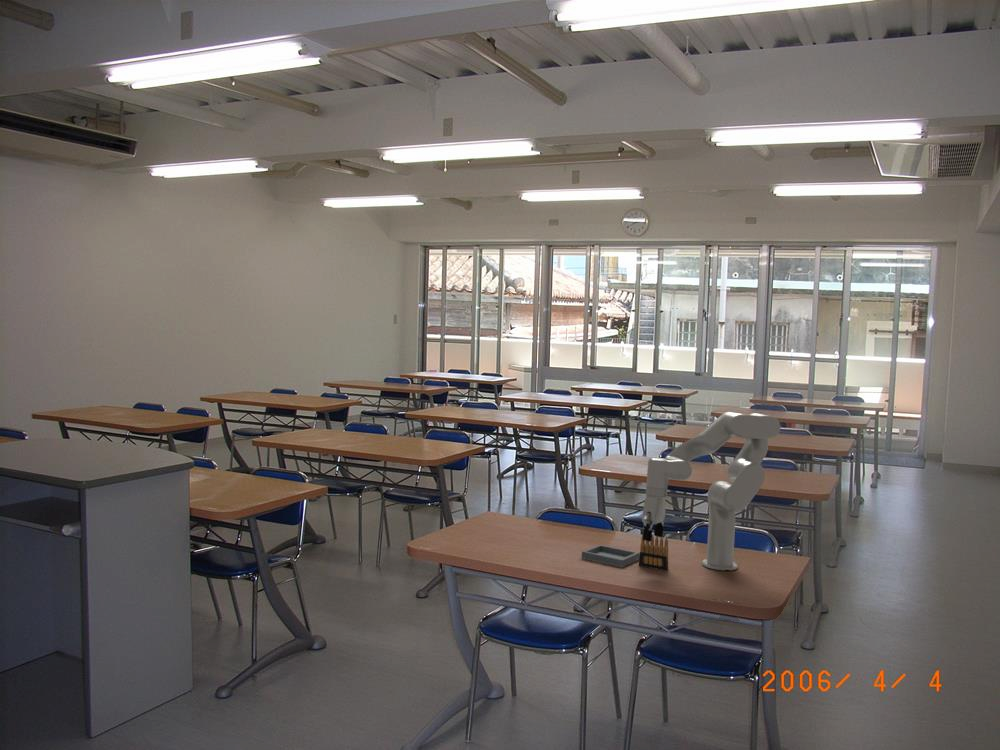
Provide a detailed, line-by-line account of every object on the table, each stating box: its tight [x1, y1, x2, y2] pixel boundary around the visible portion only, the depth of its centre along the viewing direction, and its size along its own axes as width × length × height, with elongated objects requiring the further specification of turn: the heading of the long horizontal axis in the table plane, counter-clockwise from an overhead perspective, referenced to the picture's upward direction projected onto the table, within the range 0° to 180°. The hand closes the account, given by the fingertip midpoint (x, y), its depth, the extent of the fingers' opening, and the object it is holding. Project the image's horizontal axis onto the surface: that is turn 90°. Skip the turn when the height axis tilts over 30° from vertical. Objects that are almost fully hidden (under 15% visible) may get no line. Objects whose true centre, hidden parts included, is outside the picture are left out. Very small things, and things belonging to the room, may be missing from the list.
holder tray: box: [581, 544, 640, 568], centre depth 296 cm, size 14×17×3 cm
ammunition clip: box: [638, 533, 669, 571], centre depth 287 cm, size 11×2×12 cm, turn 60°
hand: (652, 538), depth 286 cm, fingers open, 9 cm apart
